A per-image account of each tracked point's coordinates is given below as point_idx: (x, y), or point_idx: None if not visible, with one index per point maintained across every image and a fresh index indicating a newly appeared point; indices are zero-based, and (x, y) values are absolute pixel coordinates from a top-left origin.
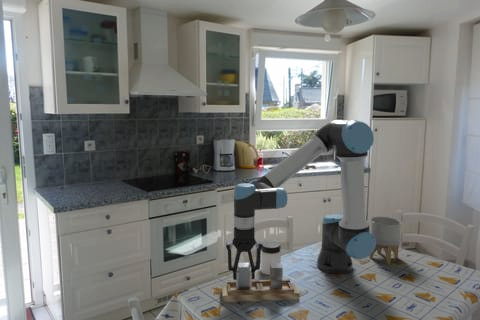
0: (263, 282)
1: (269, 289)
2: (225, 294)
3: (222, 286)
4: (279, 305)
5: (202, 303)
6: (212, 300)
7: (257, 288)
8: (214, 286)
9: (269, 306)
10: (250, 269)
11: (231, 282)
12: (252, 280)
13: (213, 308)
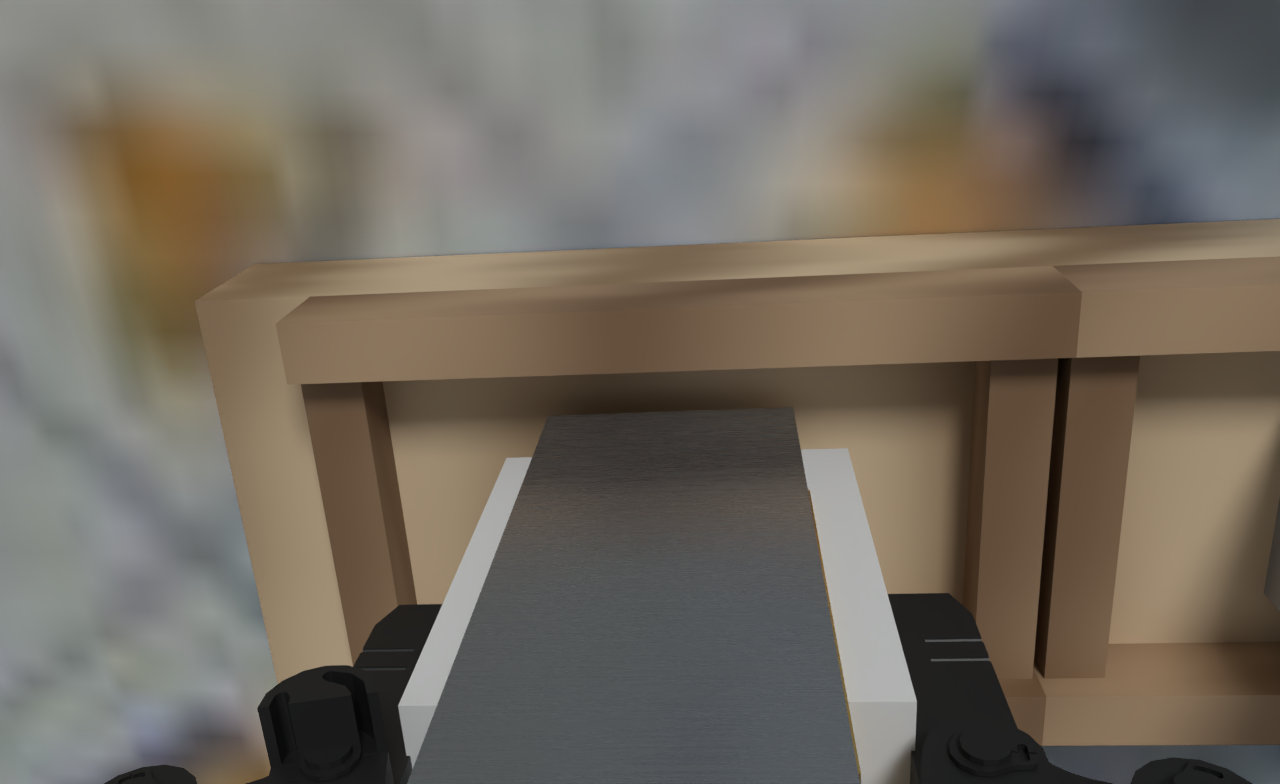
0: (1184, 342)
1: (1233, 714)
2: (329, 661)
3: (218, 372)
4: (1272, 748)
5: (17, 642)
6: (151, 568)
7: (977, 601)
8: (60, 58)
9: (1093, 765)
10: (889, 741)
11: (386, 378)
12: (912, 307)
13: (218, 769)
